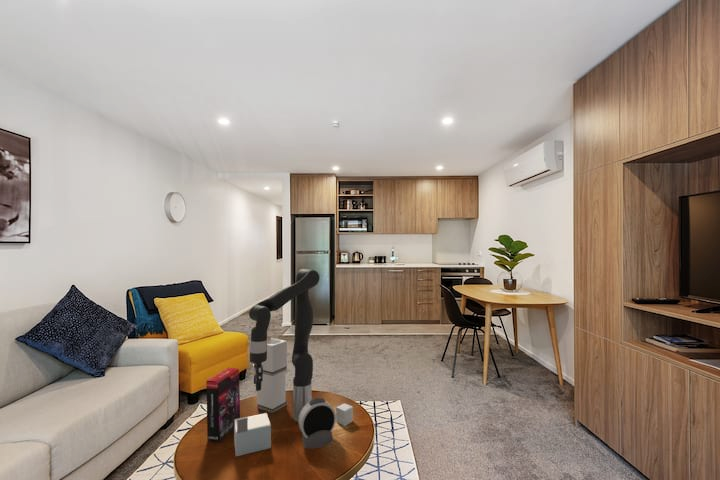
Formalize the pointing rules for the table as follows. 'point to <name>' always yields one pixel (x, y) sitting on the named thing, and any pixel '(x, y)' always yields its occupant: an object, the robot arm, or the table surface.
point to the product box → (344, 414)
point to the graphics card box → (222, 404)
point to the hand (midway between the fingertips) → (257, 386)
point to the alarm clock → (317, 423)
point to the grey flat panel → (251, 437)
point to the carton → (253, 423)
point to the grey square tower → (273, 377)
